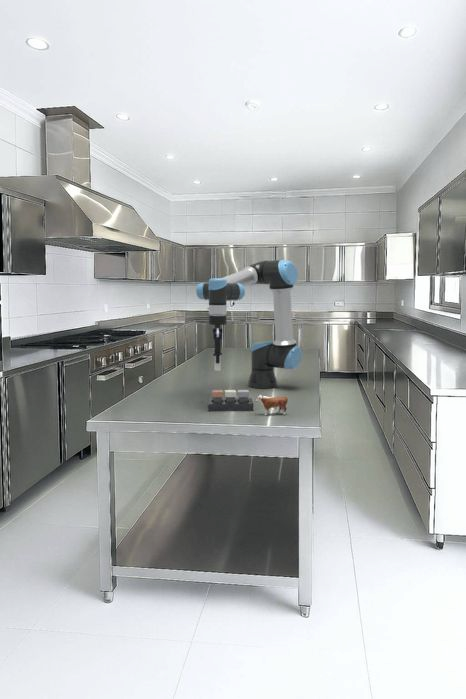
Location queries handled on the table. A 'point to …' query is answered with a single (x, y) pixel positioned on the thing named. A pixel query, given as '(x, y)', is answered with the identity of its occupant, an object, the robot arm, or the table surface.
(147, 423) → the table surface
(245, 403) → the keypad base
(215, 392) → the tan cube
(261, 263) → the robot arm
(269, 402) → the bull figurine
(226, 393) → the cream key
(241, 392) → the grey key
